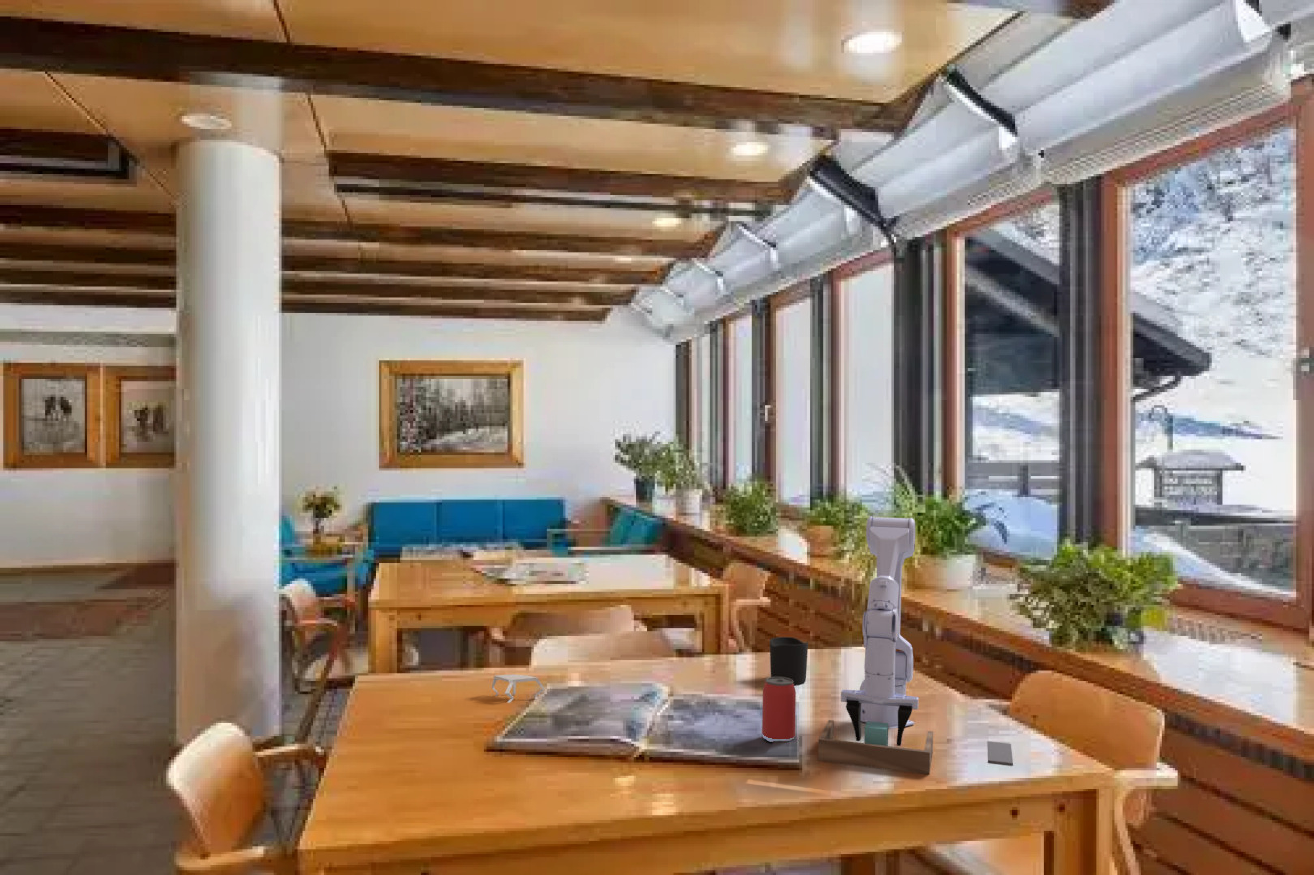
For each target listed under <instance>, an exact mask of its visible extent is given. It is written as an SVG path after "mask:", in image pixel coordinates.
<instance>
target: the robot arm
mask: <svg viewBox="0 0 1314 875" xmlns="http://www.w3.org/2000/svg"><path fill="white" fill-rule="evenodd" d="M865 534H866V537H865V538H866V543H867V547H868V550H869V552H870V554H871V555H873V556H876V577H875V578H873V579H872V580H871V581H870V583H869V589H868V590H869V591H868V598H867V608H866V611H863V615H862V635H863V648H865V650H864V665H863V666H864V667H863V668H864V679H863V681H861V684H860V687H859V689H842V690H841V692H840V702H842V703H846V705H845V708H846V709H845V710H846V712H847V713H848V715H849V719H850V721H851V723H852V726H853V730H854V734H855V742H860V741H861V739H862V728H861V727H862V724H861V723H862V722H863V723H866V722H867V721H871V722H880V723H888V729H891V730H892V729H897V734H896V735H897V736H896V747H901V745H902V741H903V734H904V731H905V728H906V727H909V726H913V725H915V721H912V720H910V717H911V715H912V713H913V712H912V711H913V710H916V711H917V710H919V697H918V696H912V695H907V683H910V682H911V681H913V676H914V654H913V652H914V650H913V647H912V644H911V643H910V642H909V641H908V640H907V639H906V638H904V637H903V636H902V635H901V613H902V612H901V611H902V609H901V608H902V578H903V577H902V575H903V571H902V570H903V566H904V564H905V559H907V558H911V557H913V556H914V553H915V542H916V521H915V519H913V517H910V518H907V517H906V518H905V517H886V516H884V517H882V516H880V517H879V516H869V517H868V518H867V521H866V532H865ZM897 650H900V651H897Z"/></svg>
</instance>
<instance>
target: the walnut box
mask: <svg viewBox="0 0 1314 875" xmlns="http://www.w3.org/2000/svg"><path fill="white" fill-rule="evenodd" d="M834 725H835V720H830V719H829V720H828V721H827V723H826V725H825V727H824V729H823V730H822V732H821V734H820V736H819V737H818V740H817V742H818V745H817V746H818V749H817V761H818V762H826V763H832V764H833V763H834V764H840V765H841V764H842V765H851V766H856V767H858V766H859V767H863V768H864V767H866V768H872V769H873V768H875V769H881V770H890V771H897V772H905V773H912V774H913V773H914V774H922V775H930V773H931V768H932V767H931V766H932V760H933V754H934V731H931V730H928V731H927V732H926V733H927V734H926V740H925V745H924V749H916V748H909V747H901V746H891V745H888V746H883V745H875V744H866V743H864V742H859V741H847V740H839V739H834V738H835V736H834V735H835V734H834V732H835V726H834Z"/></svg>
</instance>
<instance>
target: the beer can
mask: <svg viewBox="0 0 1314 875" xmlns="http://www.w3.org/2000/svg"><path fill="white" fill-rule="evenodd" d="M796 700H797V692H796V687H795V685H794V684H793V680H792V679H790V678H785V677H771V676H770V677H767V678H766V679H765V683H764V685H763V688H762V706H761V707H762V709H761V710H762V711H761V714H762V715H761V716H762V718H761V722H762V724H761V725H762V726H761V735H762V734H763V735H764V736H766V737H768V738H772V739H790V738H793V737H794V736H795V737H796V710H797V709H796V708H797V707H796Z"/></svg>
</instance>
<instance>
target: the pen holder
mask: <svg viewBox="0 0 1314 875" xmlns="http://www.w3.org/2000/svg"><path fill="white" fill-rule="evenodd" d="M808 648H809V642H807V641H806V642H803V641H802V640H800V639H798V638H796V637H790V636H780V637H779V636H777V637H772V638H771V639H770V640H769V659H770V660H769V662H770V666H769V667H770V677H785V678H790V679H792V680H793V684H794V686H798V685H803V684H805V682H806V680H807V669H808V668H807V667H808V652H809V650H808Z"/></svg>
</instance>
